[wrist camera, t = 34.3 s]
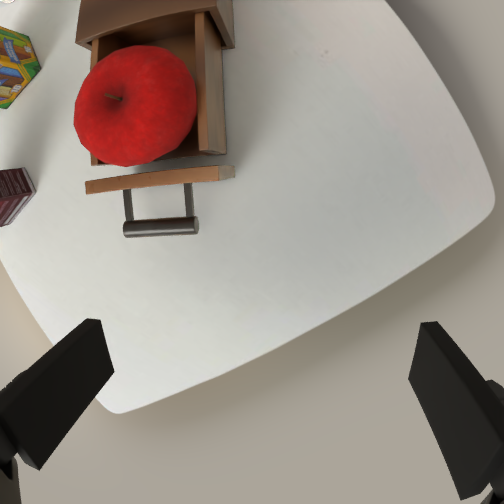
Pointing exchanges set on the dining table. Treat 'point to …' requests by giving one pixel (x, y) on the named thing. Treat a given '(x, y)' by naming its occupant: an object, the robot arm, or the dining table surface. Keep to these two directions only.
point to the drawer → (204, 126)
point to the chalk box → (15, 65)
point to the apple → (135, 106)
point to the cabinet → (147, 16)
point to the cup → (6, 1)
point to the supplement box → (13, 193)
